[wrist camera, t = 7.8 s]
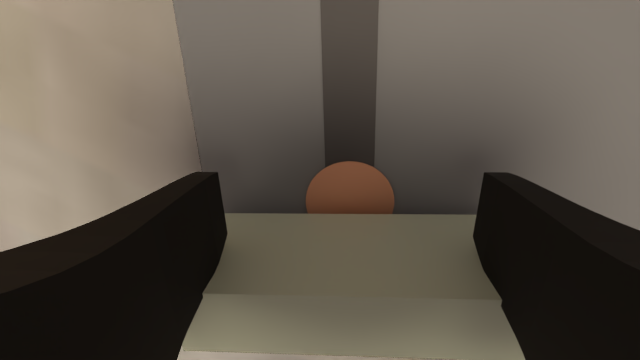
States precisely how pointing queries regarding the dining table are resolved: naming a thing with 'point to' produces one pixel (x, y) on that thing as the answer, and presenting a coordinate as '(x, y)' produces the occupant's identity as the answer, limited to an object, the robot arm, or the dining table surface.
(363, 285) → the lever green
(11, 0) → the dining table surface
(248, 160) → the switch panel
